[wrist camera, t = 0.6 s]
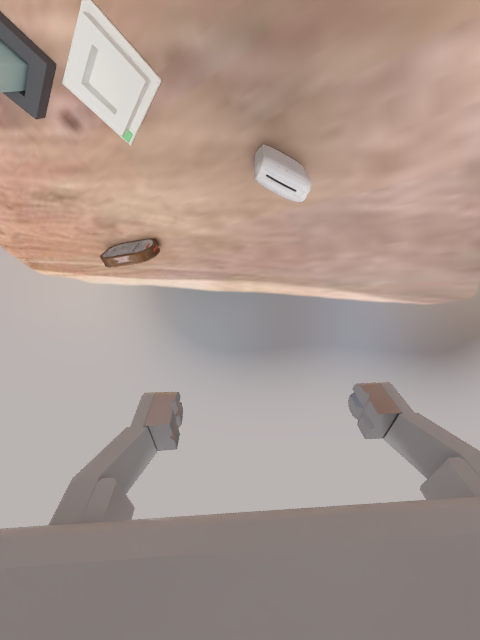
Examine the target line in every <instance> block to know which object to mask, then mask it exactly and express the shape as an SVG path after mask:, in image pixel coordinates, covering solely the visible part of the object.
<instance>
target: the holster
mask: <svg viewBox="0 0 480 640" xmlns="http://www.w3.org/2000/svg"><path fill="white" fill-rule="evenodd" d="M0 39H1V40H3V41H4V42H5V43H6V44H7V45H8V46H9V47H10V48H11V49H13V50H14V51H15V52H16V53H17V54H18V55H19V56H20V57H22V58H23V59H24V60H25V61H26V62H27V63H28V64H29V71H28V78H27V84H26V90H25V91H15V92H2V93H4V94H5V95H6V96H7V97H9V98H10V99H11V100H12V101H14V102H15V103H16V104H17V105H19V106H20V107H21V108H22V109H24V110H25V111H26V112H27V113H29V114H30V115H31V116H32V117H34V118H35V119H40V118H45V115H46V111H47V106H48V101H49V97H50V92H51V88H52V83H53V78H54V74H55V69H56V63H55V62H53V61H52V60H51V59H50V58H49V57H48V56H47V55H46V54H45V53H44V52H43V51H42V50H41V49H40V48H39V47H37V46H36V45H35V44H34V43H33V42H32V41H31V40H30V39H29V38H28V37H27V36H26V35H25V34H24V33H23V32H21V31H20V30H19V29H18V28H17V27H16V26H15V25H14V24H13V23H12V22H11V21H10V20H9V19H8V18H7V17H5V16H4V15H3V14H2V13H1V12H0Z"/></svg>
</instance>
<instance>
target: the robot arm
mask: <svg viewBox="0 0 480 640" xmlns="http://www.w3.org/2000/svg"><path fill="white" fill-rule="evenodd" d="M353 391H354V393H353V394H351V395H350V397H349V400H348V403H349V409H350V411H351V413H352V415H353V416H354V417H355V418H356V419H358V427H359V429H360V431H361V433H362V434H363V436H364V438H365V439H377V438H384V440H385V441H386V442H387V443H388V444H389V445H390V446H391V447H392V448H394V449H395V450H396V451H397V452H398V453H399V454H400V455H402V457H404V458H405V459H406V460H407V461H408V462H409V463H410V464H411V465H413V466H414V467H415V468H416V469H417V470H418V471H419V472H420V473H421V474H423V475H424V476H425V477H426V478H427V480H426V481H425V482H424V483H423V484H422V485H421V487H420V490H421V492H422V493H423V495H424V497H425V498H426V500H419V501H404V502H389V503H376V504H375V503H374V504H359V505H345V506H330V507H315V508H301V509H286V510H271V511H256V512H241V513H226V514H211V515H197V516H181V517H166V518H153V519H137V520H131V519H132V515H133V511H134V506H133V504H132V503H131V502H130V500H129V499H128V497H127V496H126V493H127V492H128V491H129V489H130V488H131V487H132V485H133V484H134V482H135V481H136V480H137V479H138V477H139V476H140V475H141V473H142V472H143V471H144V469H145V468H146V466H147V465H148V464H149V462H150V461H151V460H152V458H153V457H154V456H155V454H156V453H157V451H161V450H173V449H177V446H178V440H179V435H180V433H179V429H178V428H179V427H180V425H181V424H182V417H183V416H182V415H183V407H182V403H181V402H179V401H180V394H179V392H156V393H144V394H143V395H142V397H141V400H140V402H139V405H138V408H137V410H136V413H135V416H134V418H133V421H132V424H131V426H130V427H127V428H126V429H124V431H122V432H121V433H120V434H119V435H118V436H117V437H116V438H115V439H114V440H113V441H112V442H111V443H110V444H109V445H107V446H106V447H105V448H104V449H103V450H102V451H101V452H100V453H99V454H98V455H97V456H96V457H95V458H94V459H93V460H92V461H90V462H89V463H88V464H87V465H86V466H85V467H84V468H83V469H82V470H81V471H80V472H79V473H78V474H77V475H76V476H75V477H73V479H72V480H71V482H70V484H69V486H68V488H67V490H66V492H65V494H64V496H63V498H62V500H61V502H60V504H59V506H58V508H57V510H56V512H55V514H54V515H53V518H52V519H51V521H50V523H49V525H48V526H33V527H19V528H5V529H0V640H480V451H479V450H477V449H476V448H474V447H472V446H471V445H469V444H467V443H466V442H464V441H462V440H461V439H459V438H458V437H456V436H455V435H453V434H451V433H449V432H448V431H446V430H445V429H443V428H442V427H440V426H438V425H437V424H435V423H434V422H432V421H430V420H429V419H427V418H425V417H424V416H422V415H420V414H419V413H414V411H413V410H412V409H411V408H410V406H409V405H408V404H407V403H406V401H405V400H404V399H403V398H402V396H401V395H400V394H399V393H398V391H397V390H396V389H395V388H394V387H393V385H392V384H391V383H389V382H385V383H361V384H356V385H354V387H353Z"/></svg>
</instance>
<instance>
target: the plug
mask: <svg viewBox="0 0 480 640" xmlns="http://www.w3.org/2000/svg"><path fill="white" fill-rule="evenodd" d="M28 71H29V64H28V63H27V62H26V61H25V60H24V59H23V58H22V57H20V56H19V55H18V54H17V53H16V52H15V51H14V50H13V49H11V48H10V47H9V46H8V45H7V44H6V43H5V42H4V41H3V40H1V39H0V93H1V92H15V91H25V90H26V84H27V78H28Z"/></svg>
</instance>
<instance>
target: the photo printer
mask: <svg viewBox="0 0 480 640" xmlns="http://www.w3.org/2000/svg"><path fill="white" fill-rule="evenodd" d="M254 171H255V172H254V178H255V180H256V181H257V182H258V183H259V184H261V185H262V186H264V187H265V188H267V189H269V190H270V191H272V192H274V193H276V194H278V195H280V196H282V197H284V198H286V199H288V200H291V201H295V202H302V201H304V200H305V198H306V196H307V194H308V193H309V191H310V188H311V180H310V178H309V176H308V174H307V172H306V170H305V169H304V167H303V166H302V165H301V164H300V163H298V162H297V161H295V160H294V159H292V158H290V157H289V156H287V155H285V154H283V153H281V152H280V151H278V150H276V149H274V148H272V147H270V146H267V145H264V144H262V146H261V147H260V148H259V149H258V150H257V152H256V154H255V164H254Z"/></svg>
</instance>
